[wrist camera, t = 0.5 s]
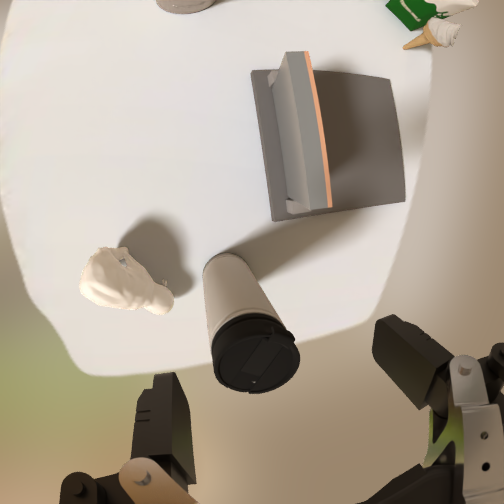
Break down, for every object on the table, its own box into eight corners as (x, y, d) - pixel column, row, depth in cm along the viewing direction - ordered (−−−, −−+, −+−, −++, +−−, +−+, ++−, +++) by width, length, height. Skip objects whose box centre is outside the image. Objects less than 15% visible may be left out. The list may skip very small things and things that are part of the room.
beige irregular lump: (87, 253, 24) (187, 307, 28) (106, 232, 31) (183, 276, 36) (68, 300, 24) (161, 348, 29) (87, 271, 32) (161, 312, 37)
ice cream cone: (391, 51, 32) (451, 25, 18) (391, 30, 31) (447, 2, 17) (414, 66, 33) (474, 48, 19) (414, 45, 32) (470, 24, 18)
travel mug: (258, 262, 37) (322, 346, 18) (235, 303, 38) (273, 409, 19) (217, 242, 35) (244, 317, 16) (194, 285, 36) (199, 391, 17)
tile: (271, 89, 30) (285, 51, 18) (287, 88, 30) (308, 51, 18) (287, 196, 34) (309, 209, 22) (303, 194, 34) (332, 207, 22)
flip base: (250, 73, 30) (255, 64, 27) (384, 81, 33) (397, 76, 30) (272, 220, 36) (279, 224, 32) (400, 200, 39) (414, 203, 36)
